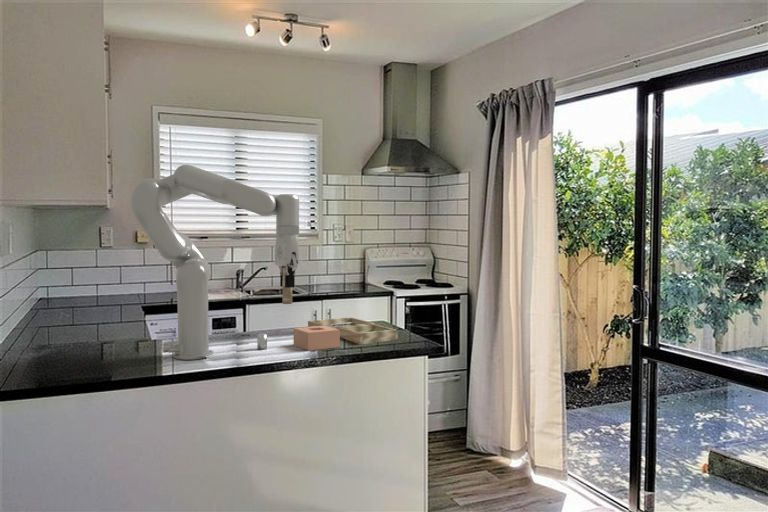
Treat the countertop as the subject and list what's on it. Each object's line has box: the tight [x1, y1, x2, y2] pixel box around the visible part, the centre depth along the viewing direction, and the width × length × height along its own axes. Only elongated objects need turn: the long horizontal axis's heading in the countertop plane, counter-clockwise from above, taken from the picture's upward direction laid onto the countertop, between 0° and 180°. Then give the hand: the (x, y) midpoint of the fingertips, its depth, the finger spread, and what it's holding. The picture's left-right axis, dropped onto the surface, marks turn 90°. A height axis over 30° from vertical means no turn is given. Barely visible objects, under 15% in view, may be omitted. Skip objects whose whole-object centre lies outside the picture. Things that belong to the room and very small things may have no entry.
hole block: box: [293, 325, 341, 352], centre depth 210 cm, size 12×12×6 cm
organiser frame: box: [307, 317, 398, 346], centre depth 233 cm, size 20×38×4 cm, turn 33°
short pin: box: [256, 333, 268, 351], centre depth 204 cm, size 3×3×5 cm
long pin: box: [281, 267, 293, 305], centre depth 200 cm, size 3×3×12 cm
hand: (287, 286), depth 200 cm, fingers closed on long pin, 3 cm apart
